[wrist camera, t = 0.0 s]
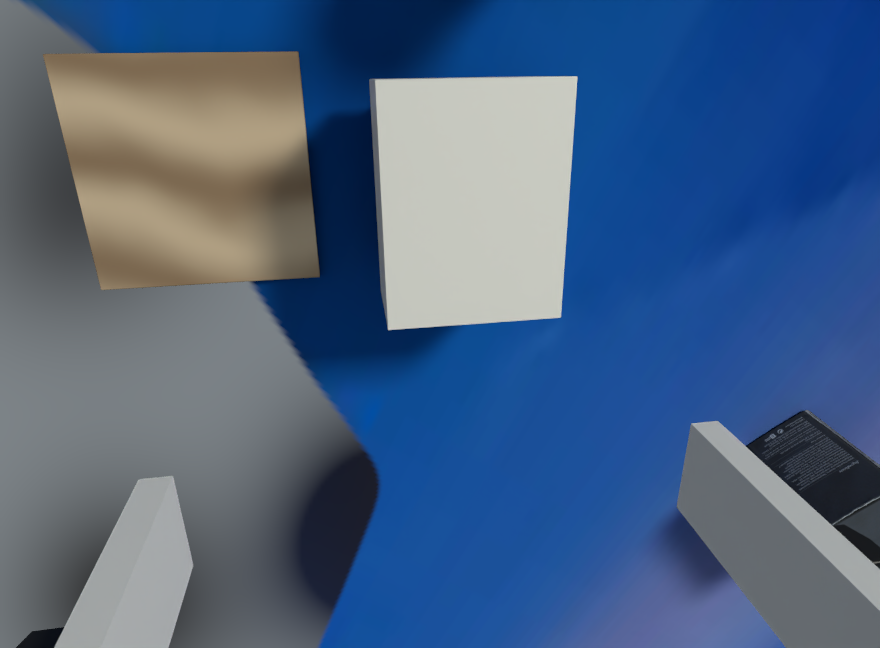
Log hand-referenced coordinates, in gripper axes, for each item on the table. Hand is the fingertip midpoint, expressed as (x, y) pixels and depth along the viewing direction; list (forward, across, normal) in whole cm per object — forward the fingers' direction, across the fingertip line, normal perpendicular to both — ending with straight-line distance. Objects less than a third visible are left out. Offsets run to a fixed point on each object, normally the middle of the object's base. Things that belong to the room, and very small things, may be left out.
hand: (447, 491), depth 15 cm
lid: (+25, +5, +3) cm, 26 cm away
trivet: (+28, -11, +4) cm, 30 cm away
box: (+28, +37, -24) cm, 52 cm away
